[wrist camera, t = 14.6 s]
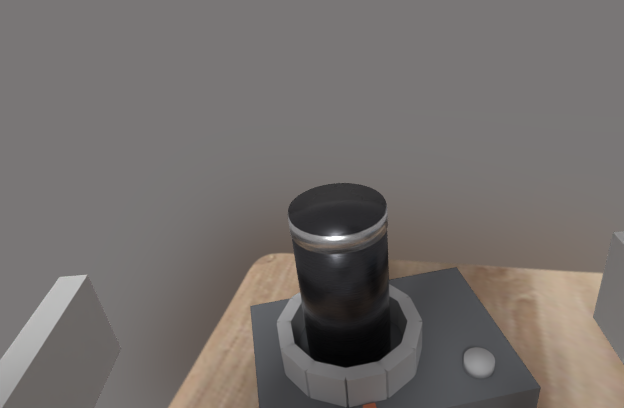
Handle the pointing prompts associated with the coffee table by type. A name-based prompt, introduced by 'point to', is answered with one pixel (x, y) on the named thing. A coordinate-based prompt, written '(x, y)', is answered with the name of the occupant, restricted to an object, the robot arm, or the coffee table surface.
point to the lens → (343, 272)
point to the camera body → (398, 355)
